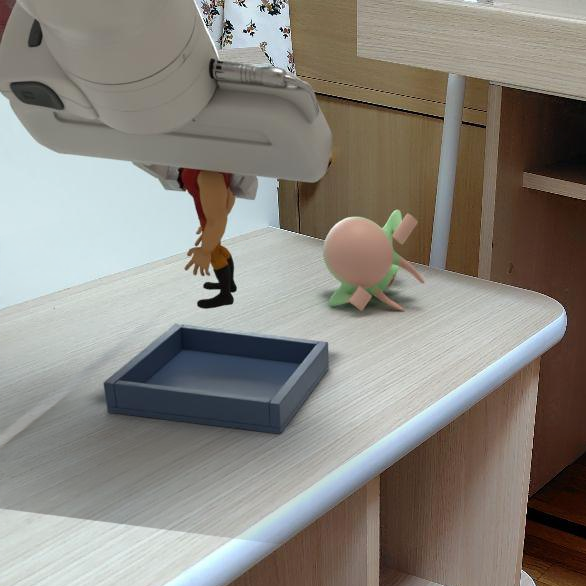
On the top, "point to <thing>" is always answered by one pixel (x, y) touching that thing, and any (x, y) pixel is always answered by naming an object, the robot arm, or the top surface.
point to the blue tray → (219, 378)
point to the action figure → (212, 232)
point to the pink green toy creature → (366, 258)
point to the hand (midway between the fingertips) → (212, 187)
